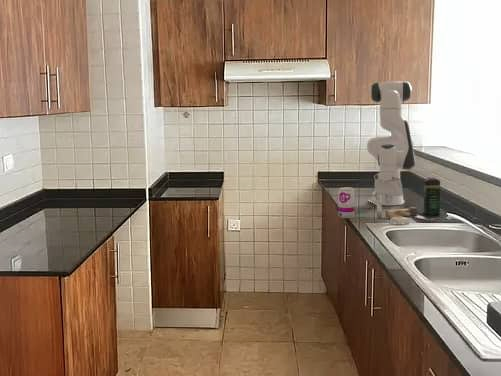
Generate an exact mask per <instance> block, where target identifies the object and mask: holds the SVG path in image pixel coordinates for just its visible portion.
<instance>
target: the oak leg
mask: <svg viewBox="0 0 501 376" xmlns="http://www.w3.org/2000/svg"><path fill="white" fill-rule="evenodd" d="M384 213H385V214H384V216H385V218H387V219H388V218H389V219H391V218H393V217H405V216H406V217H409V215H417V214H418V207H414V206H409V207H407V208H400V209H391V210H389V209H388V210H385V212H384Z"/></svg>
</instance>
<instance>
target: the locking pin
mask: <svg viewBox="0 0 501 376" xmlns="http://www.w3.org/2000/svg"><path fill="white" fill-rule="evenodd" d="M376 219H378V220H382V219H383V205H382V204H377V205H376Z"/></svg>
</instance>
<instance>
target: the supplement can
mask: <svg viewBox="0 0 501 376" xmlns="http://www.w3.org/2000/svg"><path fill="white" fill-rule="evenodd" d="M337 196H338V197H337V198H338V199H337V200H338V201H337V203H338V204H337V205H338V206H337V207H338V217H339V218H341V219H351V218H355V216H356V212H355V211H356V209H355V207H356V203H355V199H356V198H355V189H354V188H353V187H350V186H346V187H345V186H344V187H339V189H338V190H337Z"/></svg>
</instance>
